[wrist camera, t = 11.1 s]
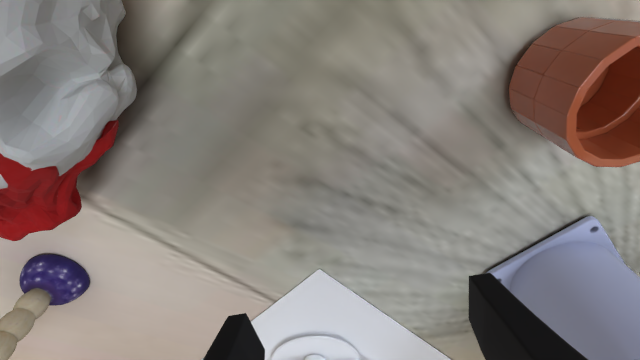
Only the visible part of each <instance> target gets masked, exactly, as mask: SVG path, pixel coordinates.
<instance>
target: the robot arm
mask: <svg viewBox="0 0 640 360" xmlns="http://www.w3.org/2000/svg"><path fill="white" fill-rule="evenodd" d="M469 320H470V323H471V326H472V328H473V331H474V333H475V336H476V338H477V341H478V343H479V346H480V348H481V351H482V353H483V355H484V357H485V359H486V360H640V277H639V276H638V275H636V274H635V273H634V272H633V271H632V270H631V269H630V268H628V267H627V266H626V265H625V263H624V261H623V260H622V258H621V257H620V255H619V253H618V252H617V250H616V248H615V247H614V245H613V243H612V242H611V240H610V238H609V237H608V235H607V234H606V232H605V230H604V229H603V227H602V225H601V224H600V222H599V221H598V220H597V219H596V218H595V217H593V216H588V217H585V218H583V219H582V220H580V221H578V222H576V223H574V224H572V225H571V226H569V227H567V228H565V229H563V230H562V231H560V232H558V233H556V234H554V235H553V236H551V237H549V238H547V239H545V240H543V241H542V242H540V243H538V244H536V245H534V246H533V247H531V248H529V249H527V250H525V251H524V252H522V253H520V254H518V255H516V256H514V257H513V258H511V259H509V260H507V261H505V262H504V263H502V264H500V265H498V266H496V267H495V268H493V269H491V270H489V271H488V272H487V273H485V274H479V275H473V276H469ZM203 360H265V349H264V347H263V345H262V343H261V341H260V339H259V337H258V335H257V333H256V331H255V329H254V328H253V326H252V324H251V322H250V320H249V318H248V316H247V314H246V313H244V314H238V315H232V316H228V318H227V319H226V321H225V323H224V324H223V326H222V328H221V329H220V331H219V333H218V335H217V336H216V338H215V340H214V342H213V343H212V345H211V347H210V349H209V350H208V352H207V354H206V356H205V357H204V359H203Z"/></svg>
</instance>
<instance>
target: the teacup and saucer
mask: <svg viewBox="0 0 640 360" xmlns="http://www.w3.org/2000/svg"><path fill="white" fill-rule="evenodd" d="M270 360H361V358H360V355H359V353H358V351H357V350H356V349H355V348H354V347H353V346H352V345H351V344H349V343H348V342H346V341H344V340H342V339H339V338H336V337H332V336H327V335H305V336H300V337H296V338H293V339H290V340H288V341H286V342H284V343H283V344H281V345H280V346H279V347H277V348H276V349H275V351H274V352H273V353H272V355H271V358H270Z"/></svg>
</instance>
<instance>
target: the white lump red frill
mask: <svg viewBox="0 0 640 360" xmlns="http://www.w3.org/2000/svg"><path fill="white" fill-rule="evenodd" d="M125 13H126V12H125V9H124V6H123V3H122V0H0V237H1V238H5V239H8V240H12V241H18V240H21V239H22V238H23V237H25V236H26V235H27V234H29V233H33V232H38V231H45V230H53V229H54V228H56V227H57V226H58V225H60V224H61V223H63V222H65V221H67V220H69V219H71V218H72V217H74V216H76V215H77V214H78V213H79V212H80V210H81V207H82V206H81V199H80V195H79V192H78V190H77V188H76V183H77V176H78V175H79V174H80V173H81V172H82V171H83V170H85V169H87V168H88V167H90V166H92V165H94V164H95V163H96V162H97V161H98V160H99V158H100V157H101V156H102V155H103V154H104V153H105V151H107V150H108V149H110V148H111V147H112V146H113V144H114V141H115V137H116V134H117V130H118V127H119V123H118V120H116V119H117V118H118V117H119V115H120V114H121V113H122V112H123V111H124V109H126V108H127V107H128V106H129V105H130V104H131V103H132V102H133V101H134V99H135V98H136V93H137V88H136V83H135V77H134V75H133V73H132V71H131V69H130V68H129V67H128V66H126V65H124V63H123V62H122V60H121V58H120V56H119V54H118V48H117V38H116V33H117V28H118V24H119V23H120V22H121V21H122V20H123V18H124V17H125Z"/></svg>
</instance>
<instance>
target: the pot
mask: <svg viewBox="0 0 640 360" xmlns="http://www.w3.org/2000/svg"><path fill="white" fill-rule="evenodd" d="M509 96H510V106H511V109H512V111H513V112H514V114H515V115H516V117H517V119H518V120H519V121H520V122H521V123H522V124H524V125H525V126H527V127H529V128H530V129H532V130H533V131H535V132H537V133H538V134H540V135H541V136H543V137H545V138H546V139H548V140H549V141H551V142H553V143H554V144H556V145H557V146H559V147H561V148H562V149H564V150H565V151H567V152H569V153H570V154H572V155H573V156H575V157H577V158H579V159H581V160H583V161H585V162H587V163H589V164H591V165H593V166H596V167H622V166H626V165H629V164H633V163H636V162H640V21H634V20H622V19H610V18H594V17H580V18H579V17H578V18H575V19H572V20H569V21H567V22H564V23H561V24H559V25H556V26H554V27H552V28H551V29H550V30H548V31H547V32H546V33H544V34H543V35H542V36H541V37H539V38H538V39H537V40H535V41H534V42H533V43H532V45H530V47H529V48H528V49H527V51H526V52H525V54H524V55H523V56H522V58H521V59H520V61H519V62H518V63H517V66H515V69H514V72H513V75H512V78H511V81H510V85H509Z"/></svg>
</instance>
